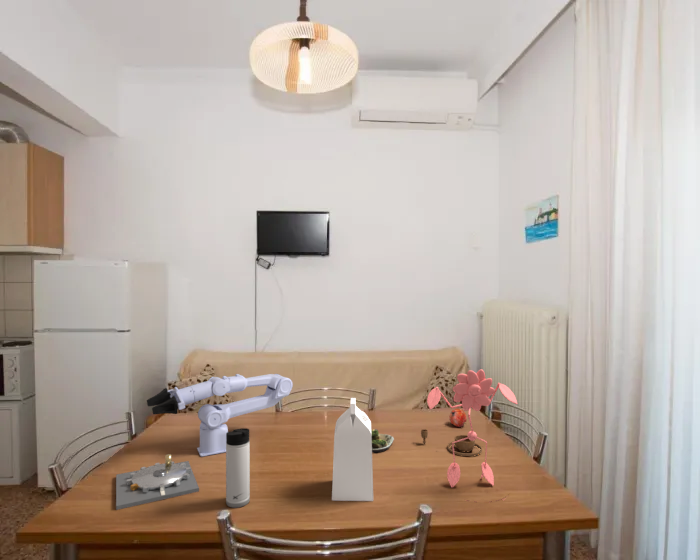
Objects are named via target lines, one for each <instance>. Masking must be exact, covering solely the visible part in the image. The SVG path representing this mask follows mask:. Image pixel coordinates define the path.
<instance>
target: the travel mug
mask: <svg viewBox="0 0 700 560" xmlns="http://www.w3.org/2000/svg"><path fill="white" fill-rule="evenodd" d="M250 448H251V447H250V428H246V427H245V428H244V427H243V428H236V429H232V430H231V431H228V432H227V433H226V452H225V502H226V506H228V507H230V508H236V509H237V508H242V507H244V506H247V505H248V504H249V502H250V500H251V496H250V494H251V492H250V491H251V490H250V485H251V484H250V483H251V482H250V477H251V476H250V474H251V473H250V472H251V471H250V468H251V467H250V466H251V465H250V464H251V463H250V461H251V460H250V456H251V455H250V453H251V451H250Z"/></svg>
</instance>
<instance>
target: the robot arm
mask: <svg viewBox="0 0 700 560" xmlns="http://www.w3.org/2000/svg"><path fill="white" fill-rule="evenodd" d="M261 386H263V387H264V386H266V389H265V392H264V394H260V395H256V396H253V397H248V398H244V399H241V400H237V401H233V402H229V403H225V404H221V403H219V404H218V403H216V404H209V403H206V404H203V405H202V406H201V407H200V408H199V410H198V411H197V417H198V419H199V421H200V424H199V447H196V450H197V452H198V454H199V456H200V457H206V456H213V455H217V454H223V453H226V433H227V432H229V430H228V429H229V427H228V425H227V424H226V423H227V422H228V421H229V419H232V418H235V417H239V416H242V415H246V414H250V413H253V412H257V411H261V410H264V409H269V408H272V407H274V406H276V405H277V404H278V403H279V402H280V401H281V400H282V399H283V398H285V397H288V396H290V394H291V391H292V389H293V386H294V382H293V380H291V378H289V377H286V376H282V375H281V374H278V373H274V374H273V373H268V374H263V375H257V376H251V377H245V376H244V375H242V374H241V375H240V373H236V374H235V375H233V376H227V375H223V376H222V377H219V376H212V377H210V378H209V379H208V380H207V381H206V380H205V381H203V382H202V381H201V382H199V383H195V384H192V385H189V386H185V387H182V388H178V387H177V386H175V387H174V389H173V388H172V389H168V388H167V387H165V388H163V389H162V390H161V391H160V392H158V393H157V394H156V395H154V396H152V397H150V398H148V399H147V400H146V405H147V407H151V410H152V411H151V412H152V415H163V414H174V415H177V414H178V410H179V411H181V410H184V409H186V406H187V405H189V404H193V403H196V402H198V401H202V400H205V399H208V398H210V397H214V396H218V397H219V396H220V397H222V396H225V395H226V394H229V393H237V392H243V391H244V390H246V388H251V387H261Z"/></svg>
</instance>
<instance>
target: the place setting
mask: <svg viewBox="0 0 700 560" xmlns="http://www.w3.org/2000/svg"><path fill="white" fill-rule="evenodd" d="M428 433H429V432H428V429H425V428H424V429H422V428H421V430H420V436H421V438H422V439H423V440H422V443H423V444H422V445H423V446H426V443H427V441H426V439H427V438H428V437H429V436H428ZM467 437H468V434H467V435H466V434H458V435H455V436H454V441H451V442H449V443H448V444H447V450H448V451H449V452H450V453H451V452H452V453H451V454H453V449H451V448H449V447H450V446H451V445H452V443H453V442H455V441H458V440H461V439H464V438H467ZM453 444H455V446H454V447H455V448H457V450H460V451H459V452H458V451H455V450H454V455H455V454H457V455H456V456H459V455H462V456H461V457H464V456H473V457H475V456H474V455H477V456H479V455H481V454H482V451H483V446H482V445H480V444H478V443H476V442H475V440H474V441H471V440H469V438H468V439H465V440H462V441H459V442H456V443H453ZM474 446H477V447H478V448H480V449H481V450H480V451H479V450H478V451H477V452H472V453H471V451H472V450H474V448H475V447H474ZM481 446H482V447H481ZM461 451H465V452H461ZM467 451H470V452H467ZM480 453H481V454H480ZM478 454H479V455H478Z"/></svg>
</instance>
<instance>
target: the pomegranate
mask: <svg viewBox="0 0 700 560" xmlns="http://www.w3.org/2000/svg"><path fill="white" fill-rule="evenodd" d="M448 416H449V422H450V424H452V425H453V426H455V427H456V428H462V427H463V426H464V425H466V422H467V419H468V418H467V414H466V411H464V410H463V408H454V409H452V410H451V412H450V414H449V415H448Z"/></svg>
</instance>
